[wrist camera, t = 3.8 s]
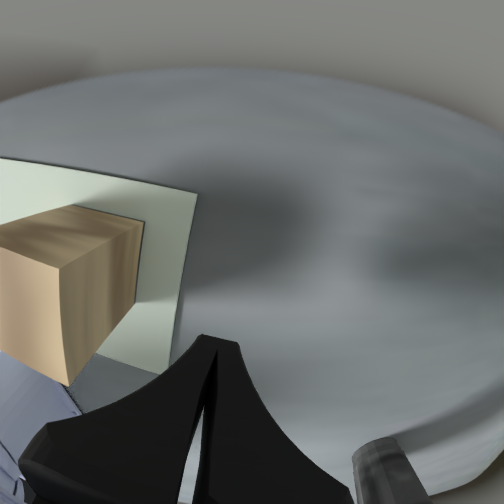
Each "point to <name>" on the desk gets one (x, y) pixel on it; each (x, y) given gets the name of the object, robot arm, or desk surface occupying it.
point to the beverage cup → (386, 475)
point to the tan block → (65, 285)
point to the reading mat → (152, 253)
